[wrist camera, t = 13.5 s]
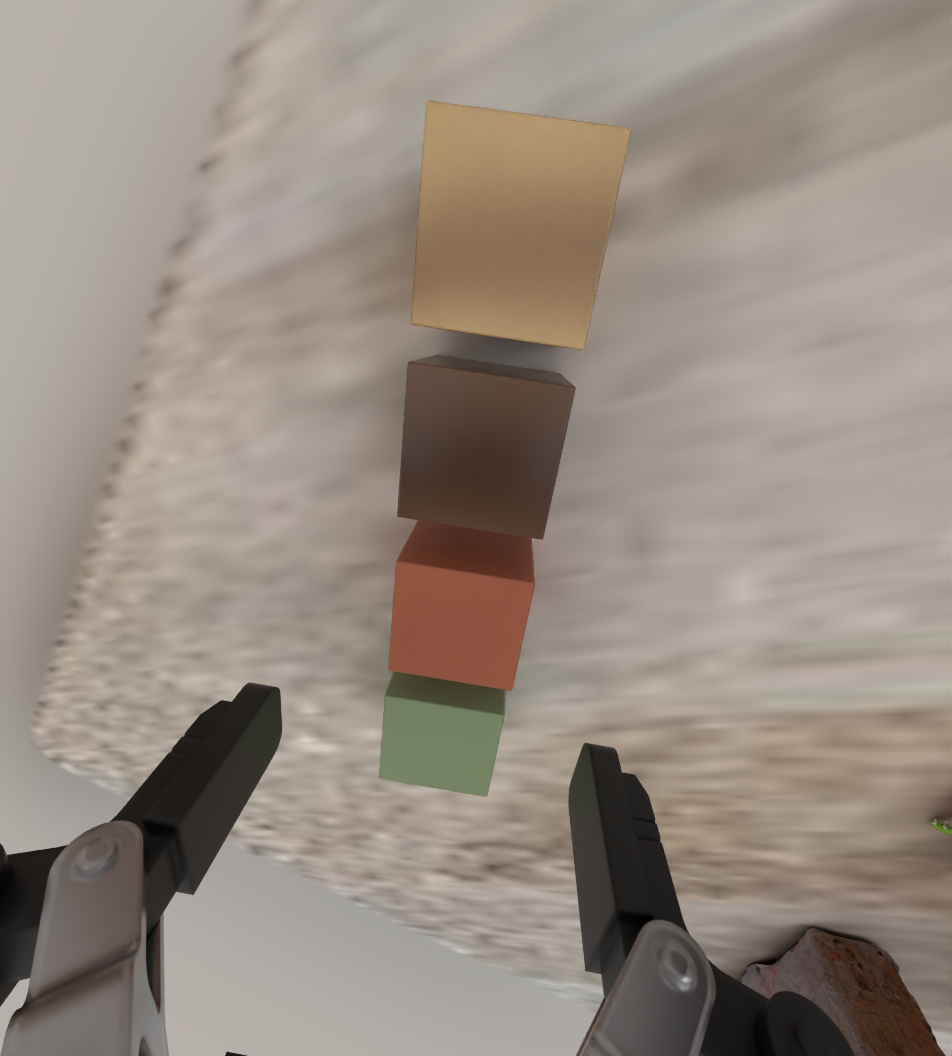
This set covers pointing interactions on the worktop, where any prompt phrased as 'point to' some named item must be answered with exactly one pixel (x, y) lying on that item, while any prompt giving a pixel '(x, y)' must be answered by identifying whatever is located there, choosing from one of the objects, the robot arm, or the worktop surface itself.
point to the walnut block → (482, 444)
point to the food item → (851, 993)
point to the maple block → (513, 222)
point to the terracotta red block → (461, 604)
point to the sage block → (440, 733)
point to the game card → (942, 827)
